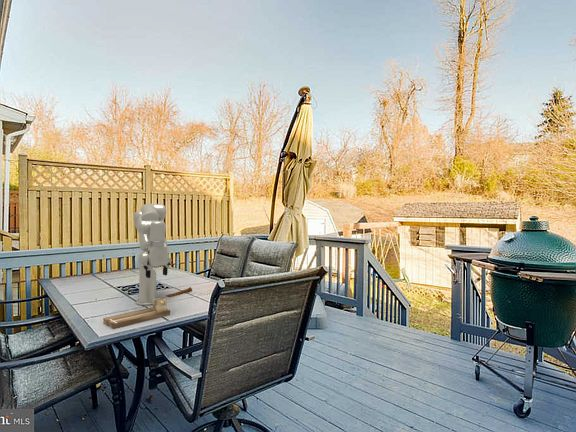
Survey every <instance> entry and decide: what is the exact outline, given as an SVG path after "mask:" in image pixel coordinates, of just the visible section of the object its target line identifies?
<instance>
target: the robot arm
mask: <svg viewBox="0 0 576 432" xmlns="http://www.w3.org/2000/svg"><path fill="white" fill-rule="evenodd" d="M166 216H167V207H166V206H165V205H164V204H163V203H162V204H161V203H145V204H143V205H142V206H141V208H140V210H136V211H135V212H134V213H133V224H134V226H135V229H136V231H137V233H138V240H139V241H138V242H139V248H140V250H141V252H139V254H138V255H137V256H138V257H137V258H138V259H137V260H138V268H139V276H138V277H139V278H138V280H139V282H138V284H139V287H138V288H139V289H138V300H136V301H135V304H136V305H138V306H150V305H153V299H157V271H156V270H155V269H154V268H153V267H162V266H163V267H162V275H163V276H168V272H169V271H168V269H169V266H171V263H172V261H173V259H172V258H170V255H169V250H168V249H169V247H168V241H167V238H166V231H167V225H166V223H165V222H164V220H165V218H166Z"/></svg>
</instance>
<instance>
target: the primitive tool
mask: <svg viewBox="0 0 576 432" xmlns="http://www.w3.org/2000/svg"><path fill="white" fill-rule="evenodd" d="M190 291H192V292H193V288H192V287H191V286H189V287H188V288H186V289H183V290H180V291H179V290H178V291H177V292H172V293H168V294H166V295H165V297H167V298H173V297H177V296H181V295H183V293H184V294H186V292H187V293H191V292H190Z"/></svg>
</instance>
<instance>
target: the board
mask: <svg viewBox="0 0 576 432" xmlns="http://www.w3.org/2000/svg"><path fill="white" fill-rule="evenodd" d="M167 316H171V310H170V309H168V308H166V310H165V311H161V312H155V311H153V306H151V307H148V308H142V309H138V310H135V311H130V312H125V313H120V314H117V315H112V316H107V317H103V319H102V320H103V321H102V322H103V324H104V325H105V324H106V326H107V327H109V328H111V329H112V330H116V328H117V329H120V327H121V328H125V327H128V326H131V325H132V326H133V325H135V324H139V323H143V322H147V321H151V320H155V319H159V318H163V317H167Z"/></svg>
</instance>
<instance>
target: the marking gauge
mask: <svg viewBox="0 0 576 432" xmlns="http://www.w3.org/2000/svg"><path fill="white" fill-rule="evenodd" d="M156 298H157V297H156ZM152 307H153V311H155V312H161V311H165V310H166V309H167V298H164V297H158V298H157V299H153V304H152Z"/></svg>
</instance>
